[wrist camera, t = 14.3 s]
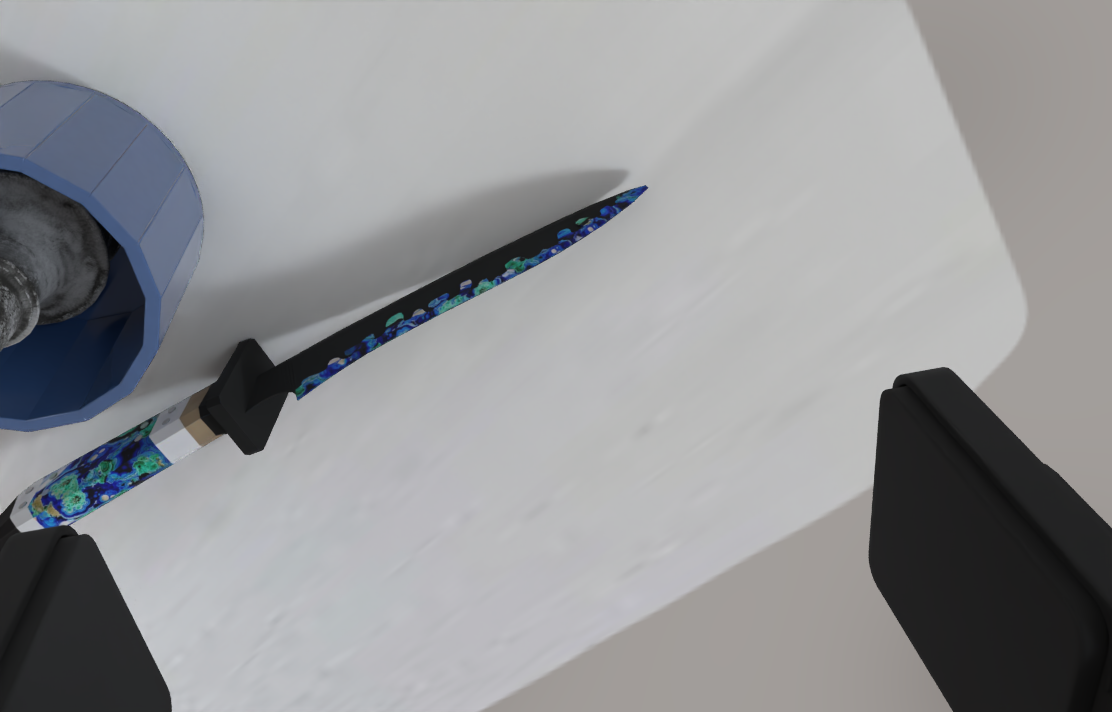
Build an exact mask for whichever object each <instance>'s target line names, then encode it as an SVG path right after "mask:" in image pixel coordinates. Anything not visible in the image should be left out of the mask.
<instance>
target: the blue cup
mask: <svg viewBox="0 0 1112 712" xmlns="http://www.w3.org/2000/svg"><path fill="white" fill-rule="evenodd" d="M0 169H4V170H10V171H16V172H21V173H23V174H25V175H27V176H29V177H31V178H33V179H35V180H36V181H38V182H40V183H42V184H44V185H46V186H48V187H50V188H52V189H53V190H55V191H57V192H59V193H61V194H63V195H65V196H67V197H69V198H70V199H72V200H74V201H76V202H78V203H80V204H82V205H83V206H84V207H85V208H86V209H87V211H88V212H89V213H90V214H91V215H92V216H93V217H94V218H95V219H96V220H97V221H98V222H99V223H100V224H101V225H102V226H103V227H104V228H105V229H106V230H107V231H108V232H109V233H110V234H111V235H112V236H113V238H114V239H115V240H116V241H117V242H118V243H119V244H120V245H121V247H120V248H119V250H118V251H117V253H116V254H115V256H114V257H113V259H112V260H111V261H110V270H109V274H108V278H107V282H106V286H105V287H104V289H103V291H102V292H101V294H100V295H99V297H98V298H97V300H96V301H95V303H93V304H92V305H91V306H90V307H89V308H87V309H86V310H85V311H84V312H82V313H81V314H79V315H77V316H75V317H72V318H70V319H68V320H65V321H63V322H58V323H51V324H45V325H35V327H34V329H33V330H32V332H31V333H30V334H29V335H28V336H27V337H25V338H24V339H23V340H22V341H20V342H18V343H16V344H14V345H11V346H9V347H5V348H3V349H2V350H1V352H0V429H7V430H16V431H24V432H29V431H30V432H33V431H38V430H43V429H48V428H53V427H58V426H64V425H69V424H74V423H79V422H84V421H87V420H90V419H91V418H93V417H94V416H96V415H97V414H99V413H101V412H102V411H104V410H105V409H107V408H108V407H110V406H112V405H113V404H115V403H116V402H118V401H120V400H121V399H123V398H124V397H126V396H127V395H129V394H131V393H132V392H133V391H134V389H135V387H136V386H137V384H138V383H139V381H140V379H141V378H142V376H143V374H144V373H145V371H146V370H147V368H148V366H149V365H150V363H151V361H152V360H153V358H154V356H155V355H156V353H157V352H158V350H159V347H160V345H161V343H162V341H163V339H164V336H165V334H166V332H167V330H168V328H169V325H170V323H171V321H172V319H173V317H174V314H175V312H176V310H177V308H178V306H179V303H180V301H181V299H182V297H183V295H184V292H185V290H186V288H187V286H188V284H189V281H190V279H191V277H192V275H193V273H194V270H195V268H196V266H197V264H198V262H199V257H200V250H201V246H202V240H203V233H204V216H203V209H202V202H201V199H200V195H199V192H198V188H197V185H196V183H195V181H194V178H193V176H192V174H191V172H190V170H189V168H188V166H187V165H186V163H185V161H184V160H183V158H182V156H181V155H180V153H179V152H178V151H177V150H176V148H175V147H174V146H173V144H172V143H171V142H170V141H169V140H168V139H167V138H166V136H165V135H164V134H163V133H162V132H161V131H160V130H159V129H158V128H157V127H156V126H154V125H153V124H152V123H151V122H149V121H148V120H147V119H146V118H145V117H143V116H142V115H141V114H139V113H138V112H136V111H135V110H133V109H132V108H130V107H129V106H127V105H125V104H123V103H122V102H120V101H118V100H116V99H114V98H112V97H110V96H108V95H105V94H103V93H100V92H97V91H95V90H92V89H89V88H86V87H82V86H78V85H74V84H70V83H63V82H56V81H38V80H30V81H21V82H12V83H8V84H4V85H0Z"/></svg>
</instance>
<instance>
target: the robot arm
mask: <svg viewBox="0 0 1112 712" xmlns="http://www.w3.org/2000/svg"><path fill="white" fill-rule="evenodd" d="M869 564H870V569H871V573H872V576H873V579H874V581H875V583H876V585H877V587H878V589H879V590H880V592H881V593H882V595H883V597H884V598H885V600H886V601H887V603H888V605H889V607H890V608H891V610H892V612H893V613H894V615H895V616H896V618H897V620H898V621H899V623H900V625H901V626H902V628H903V630H904V631H905V633H906V635H907V636H908V638H909V640H910V641H911V643H912V644H913V646H914V648H915V649H916V651H917V653H918V654H919V656H920V658H921V659H922V661H923V663H924V664H925V666H926V668H927V669H928V671H929V673H930V674H931V676H932V677H933V679H934V681H935V682H936V684H937V685H938V687H939V689H940V691H941V692H942V694H943V696H944V697H945V699H946V701H947V702H948V704H949V706H950V707H951V709H952V710H953V712H1112V528H1111V527H1110V526H1109V525H1108V524H1107V523H1106V522H1105V521H1104V520H1103V519H1102V518H1101V517H1100V516H1099V515H1098V514H1097V513H1096V512H1095V511H1094V510H1093V509H1092V508H1091V507H1090V506H1089V505H1088V504H1087V503H1086V502H1085V501H1084V500H1083V499H1082V498H1081V497H1080V496H1079V495H1078V494H1077V493H1076V492H1075V490H1074V489H1072V487H1070V485H1068V483H1067V482H1066V481H1065V480H1064V479H1063V478H1062V477H1060V475H1059V474H1058V473H1057V472H1055V471H1054V470H1053V469H1052V468H1050V467H1049V466H1048V465H1046V464H1043V463H1042V462H1041V461H1040V460H1039V459H1038V458H1037V457H1036V456H1035V455H1034V454H1033V453H1032V452H1031V451H1030V450H1029V448H1027V446H1026V445H1025V444H1024V443H1023V442H1022V441H1021V440H1020V439H1019V438H1018V437H1017V436H1016V435H1015V434H1014V433H1013V432H1012V431H1011V430H1010V429H1009V428H1008V427H1007V426H1006V425H1005V424H1004V423H1003V422H1002V421H1001V420H1000V419H999V418H998V417H997V416H996V415H995V414H994V413H993V412H992V411H991V409H990V408H988V406H987V405H986V404H985V403H984V402H983V401H982V400H981V399H980V398H979V397H978V396H977V395H976V394H975V393H974V392H973V391H972V390H971V389H970V388H969V387H968V386H967V385H966V384H965V383H964V382H963V381H962V380H961V379H960V378H959V377H958V376H957V375H956V374H955V373H954V372H953V371H952V370H950V369H949V368H945V367H941V368H936V369H930V370H925V371H919V372H913V373H908V374H902V375H899V376H898V377H896V379H895V381H894V383H893V388H892V389H887V390H885V391H883V392H882V394H881V398H880V407H879V420H878V434H877V447H876V461H875V474H874V488H873V501H872V515H871V528H870V541H869ZM0 712H172V706H171V697H170V692H169V690H168V687H167V685H166V683H165V681H164V679H163V677H162V675H161V673H160V671H159V669H158V667H157V665H156V663H155V661H154V659H153V657H152V655H151V653H150V651H149V649H148V647H147V645H146V643H145V641H144V639H143V637H142V635H141V633H140V631H139V629H138V627H137V625H136V623H135V621H134V619H133V617H132V615H131V613H130V611H129V609H128V607H127V605H126V603H125V601H124V599H123V597H122V595H121V593H120V591H119V589H118V587H117V585H116V583H115V581H114V579H113V577H112V575H111V573H110V571H109V569H108V567H107V565H106V563H105V561H104V559H103V557H102V555H101V553H100V551H99V549H98V547H97V545H96V543H95V541H94V540H93V538H92V537H91V536H89V535H87V534H82V535H78V534H77V532H76V531H75V530H74V529H73V528H72V527H70V526H68V525H60V526H55V527H49V528H44V529H38V530H33V531H27V532H21V533H16V534H14V535H12V536H10V537H9V538H8V540H7V541H6V542H5V544H4V546H3V548H2V549H1V551H0Z"/></svg>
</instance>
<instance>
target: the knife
mask: <svg viewBox="0 0 1112 712" xmlns="http://www.w3.org/2000/svg"><path fill="white" fill-rule="evenodd" d="M646 189H648V187H647V186H646V185H645V186H642V187H638V188H634V189H631V190H628V191H625V192H623V193H620V194H618V195H615V196H613V197H610V198H608V199H605V200H603V201H600V202H597V203H595V204H592V205H590V206H588V207H586V208H584V209H581V210H579V211H577V212H575V213H573V214H571V215H569V216H566V217H564V218H562V219H560V220H558V221H556V222H554V223H551V224H549V225H547V226H545V227H543V228H541V229H539V230H537V231H535V232H533V233H531V234H529V235H526V236H524V237H522V238H520V239H518V240H516V241H514V242H512V243H510V244H508V245H506V246H504V247H502V248H499V249H497V250H495V251H493V252H491V253H489V254H487V255H485V256H483V257H481V258H479V259H477V260H475V261H473V262H471V263H469V264H467V265H465V266H463V267H461V268H459V269H457V270H455V271H453V272H451V273H449V274H447V275H445V276H443V277H441V278H439V279H437V280H435V281H434V282H432V283H430V284H428V285H426V286H424V287H422V288H420V289H418V290H416V291H414V292H413V293H411V294H409V295H407V296H405V297H403V298H401V299H399V300H397V301H395V302H393V303H392V304H390V305H388V306H386V307H384V308H382V309H380V310H378V311H376V312H374V313H372V314H371V315H369V316H367V317H365V318H363V319H361V320H359V321H357V322H355V323H353V324H351V325H350V326H348V327H346V328H344V329H342V330H340V331H338V332H336V333H335V334H333V335H331V336H329V337H327V338H326V339H324V340H322V341H320V342H318V343H317V344H315V345H313V346H311V347H309V348H308V349H306V350H304V351H302V352H301V353H299V354H297V355H295V356H293V357H292V358H290V359H288V360H286V361H284V362H283V363H281V364H279V365H277V366H274V364H273V363H272V362H271V360H270V359H269V358H268V356H267V355H266V354H265V352H264V351H263V350H262V348H261V347H260V346H259V344H258V343H257V342H256V340H255V339H248V340H245V341H242V342H239V344H238V346H237V348H236V349H235V351H234V353H233V354H232V356H231V358H230V360H229V361H228V363H227V365H226V367H225V368H224V370H223V372H222V373H221V375H220V377H219V379H218V380H217V382H215V383H213V384H211V385H210V386H208V387H206V388H204V389H203V390H201V391H199V392H197V393H195V394H194V395H192V396H190V397H188V398H186V399H184V400H183V401H181V402H179V403H177V404H175V405H174V406H172V407H170V408H168V409H166V410H165V411H163V412H161V413H159V414H157V415H155V416H154V417H152V418H150V419H148V420H146V421H145V422H143V423H141V424H139V425H137V426H136V427H134V428H132V429H130V430H128V431H127V432H125V433H123V434H121V435H119V436H117V437H116V438H114V439H112V440H110V441H108V442H107V443H105V444H103V445H101V446H99V447H98V448H96V449H94V450H92V451H90V452H89V453H87V454H85V455H83V456H81V457H79V458H78V459H76V460H74V461H72V462H70V463H69V464H67V465H65V466H63V467H61V468H60V469H58V470H56V471H54V472H52V473H51V474H49V475H47V476H45V477H43V478H41V479H40V480H38V481H36V482H34V483H33V484H32V485H30V486H29V487H28V488H27V489H26V490H24V491H23V492H22V493H21V494H19V495H18V496H17V497H16V498H15V500H14V501H13V502H12V503H11V504H10V505H9V506H8V507H7V508H6V510H5V511H4V512H3V513H2V514H1V515H0V551H1V549H2V548H3V546H4V544H5V542H6V541H7V540H8V538H9V537H10V536H12V535H14V534H16V533H21V532H27V531H33V530H38V529H44V528H49V527H55V526H60V525H68V526H69V525H71V524H72V523H74V522H76V521H77V520H79V519H81V518H83V517H84V516H86V515H88V514H89V513H91V512H93V511H94V510H96V509H98V508H100V507H101V506H103V505H105V504H106V503H108V502H110V501H112V500H113V499H115V498H117V497H118V496H120V495H122V494H123V493H125V492H127V491H129V490H130V489H132V488H134V487H135V486H137V485H139V484H140V483H142V482H144V481H146V480H147V479H149V478H151V477H152V476H154V475H156V474H157V473H159V472H161V471H163V470H164V469H166V468H168V467H169V466H171V465H173V464H175V463H176V462H178V461H180V460H181V459H183V458H185V457H186V456H188V455H190V454H191V453H193V452H195V451H196V450H198V449H200V448H202V447H203V446H205V445H207V444H208V443H210V442H212V441H213V440H215V439H217V438H219V437H220V436H222V435H224V434H228V435H229V436H230V437H231V438H232V440H233V441H234V442H235V443H236V445H237V446H238V447H239V448H240V449H241V451H242V452H243V453H244V454H245V455H251V454H254V453H257V452H259V451H262V450H263V449H264V447H265V445H266V443H267V440H268V438H269V436H270V434H271V431H272V429H273V427H274V425H275V422H276V420H277V418H278V416H279V413H280V411H281V409H282V407H283V404H284V402H285V400H286V398H287V395H288V393H289V392H293V393H295V394H296V397H297V400H299V399H301V398H302V397H304V396H305V395H306V394H308V393H309V392H310V391H312V390H313V389H314V388H316V387H317V386H319V385H320V384H321V383H323V382H324V381H326V380H327V379H329V378H330V377H332V376H333V375H335V374H336V373H338V372H339V371H341V370H342V369H344V368H345V367H347V366H348V365H350V364H352V363H353V362H355V361H356V360H358V359H359V358H361V357H363V356H364V355H366V354H367V353H369V352H371V351H373V350H375V349H376V348H378V347H380V346H382V345H384V344H385V343H387V342H389V341H391V340H393V339H395V338H396V337H398V336H400V335H402V334H404V333H406V332H408V331H410V330H411V329H413V328H415V327H417V326H419V325H421V324H423V323H425V322H427V321H429V320H430V319H432V318H434V317H436V316H438V315H440V314H442V313H444V312H446V311H448V310H450V309H452V308H454V307H456V306H458V305H460V304H462V303H464V302H466V301H468V300H470V299H472V298H474V297H476V296H478V295H480V294H482V293H484V292H486V291H488V290H490V289H492V288H494V287H496V286H498V285H500V284H502V283H504V282H506V281H507V280H509V279H511V278H513V277H515V276H517V275H519V274H521V273H523V272H525V271H527V270H529V269H531V268H533V267H534V266H536V265H538V264H540V263H542V262H544V261H545V260H547V259H549V258H551V257H553V256H554V255H556V254H558V253H560V252H562V251H563V250H565V249H566V248H568V247H570V246H571V245H573V244H574V243H576V242H578V241H579V240H581V239H582V238H584V237H586V236H587V235H589V234H590V233H592V232H593V231H595V230H596V229H598V228H599V227H601V226H602V225H604V224H605V223H607V222H608V221H609V220H611V219H612V218H613V217H614V216H616V215H617V214H618V213H620V212H621V211H622V210H624V209H625V208H626V207H628V206H629V205H630V204H631V203H633V202H634V201H635V200H636V199H637V198H638V197H639V196H640V195H641V194H642V193H643V192H644V191H645V190H646Z"/></svg>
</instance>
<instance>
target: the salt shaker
mask: <svg viewBox="0 0 1112 712" xmlns="http://www.w3.org/2000/svg"><path fill="white" fill-rule="evenodd" d="M120 247H121V245H120V244H119V243H118V242H117V241H116V240H115V239H114V238H113V236H112V235H111V234H110V233H109V232H108V231H107V230H106V229H105V228H104V227H103V226H102V225H101V224H100V223H99V222H98V221H97V220H96V219H95V218H94V217H93V216H92V215H91V214H90V213H89V212H88V211H87V209H86V208H85V207H84V206H83V205H82V204H80V203H78V202H76V201H74V200H72V199H70V198H69V197H67V196H65V195H63V194H61V193H59V192H57V191H55V190H53V189H52V188H50V187H48V186H46V185H44V184H42V183H40V182H38V181H36V180H35V179H33V178H31V177H29V176H27V175H25V174H23V173H21V172H16V171H10V170H4V169H0V352H1V350H2V349H3V348H5V347H9V346H11V345H14V344H16V343H18V342H20V341H22V340H23V339H24V338H25V337H27V336H28V335H29V334H30V333H31V332H32V330H33V329H34V327H35V325H45V324H51V323H58V322H63V321H65V320H68V319H70V318H72V317H75V316H77V315H79V314H81V313H82V312H84V311H85V310H86V309H87V308H89V307H90V306H91V305H92V304H93V303H95V301H96V300H97V298H98V297H99V295H100V294H101V292H102V291H103V289H104V287H105V286H106V282H107V278H108V274H109V270H110V261H111V260H112V259H113V257H114V256H115V254H116V253H117V251H118V250H119V248H120Z"/></svg>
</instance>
